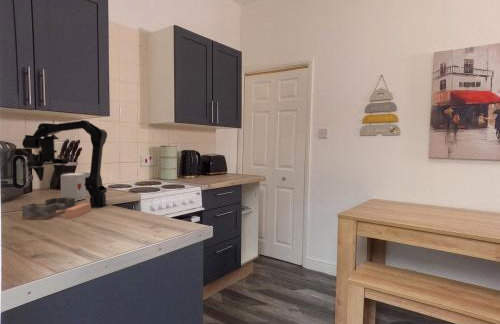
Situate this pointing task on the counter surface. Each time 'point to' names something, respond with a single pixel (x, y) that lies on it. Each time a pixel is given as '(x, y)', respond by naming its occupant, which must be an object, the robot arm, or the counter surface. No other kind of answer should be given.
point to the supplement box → (73, 186)
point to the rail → (77, 210)
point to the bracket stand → (48, 208)
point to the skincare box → (85, 177)
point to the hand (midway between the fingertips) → (49, 179)
